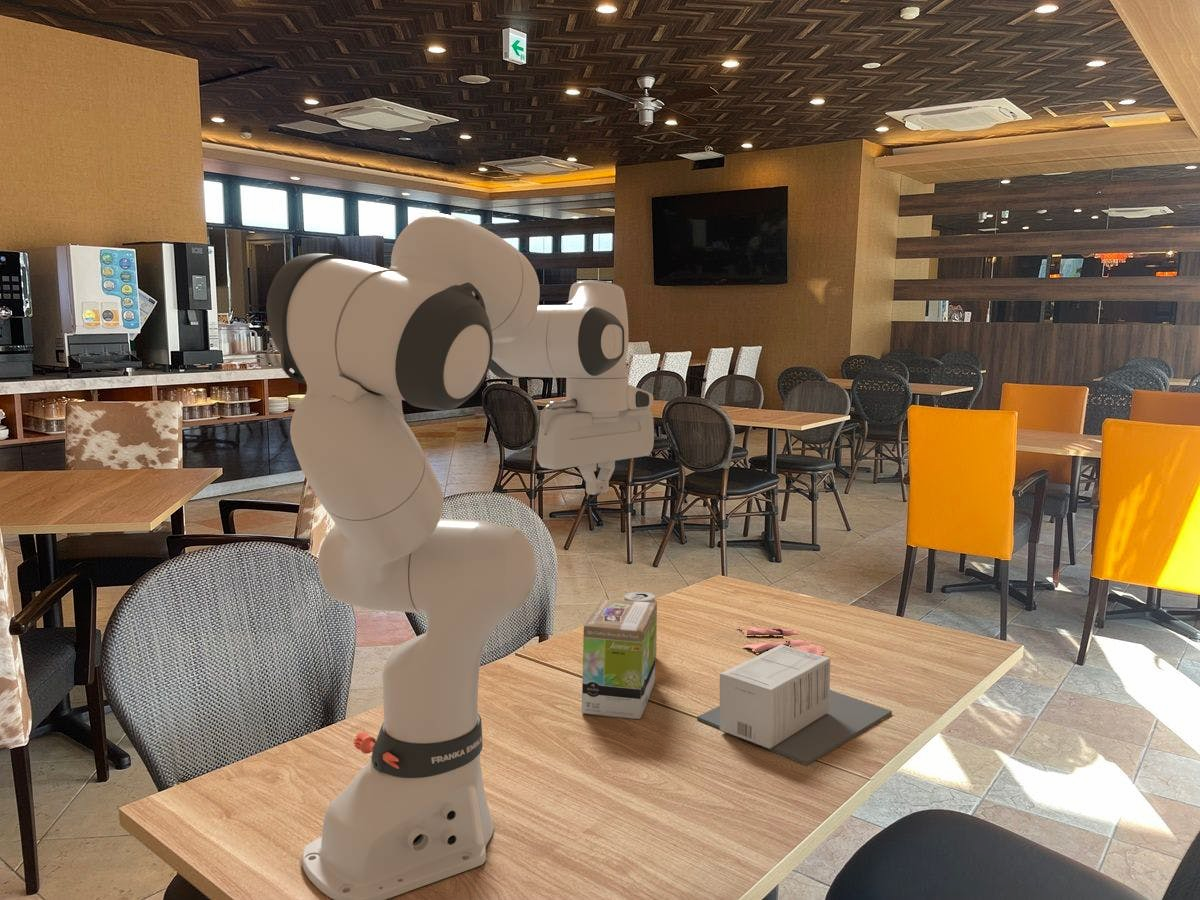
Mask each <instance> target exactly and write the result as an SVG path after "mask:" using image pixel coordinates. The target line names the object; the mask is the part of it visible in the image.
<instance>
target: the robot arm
mask: <svg viewBox="0 0 1200 900" xmlns="http://www.w3.org/2000/svg"><path fill="white" fill-rule="evenodd" d="M540 289H541V288H540V282H539V278H538V275H537V272H536V271H535V267H533V265H532V263H531V262H530V260H528V258H527V257H526V255H524V254H523V253H522V252H521V251H520V250H518V249H517V248H516V247H514V246H513V245H512V244H510V243H509V242H508V241H506V240H505V239H503V238H502V237H500V236H499V235H498V234H495V233H494V232H493V231H490V230H488V229H487V228H485V227H484V226H483V227H482V226H481V225H479V224H476V223H474V222H472V221H469V220H466V219H464V218H461V217H457V216H454V215H450V214H445V213H431V214H426V215H423V216H420V217H418V218H416V219H415V220H413V221H412V222H410V223H409V224H408V225H407V226H405V228H403V229H402V230H401V232H400V233H399V235H398V236H397V238H396V240H395V242H394V245H393V247H392V251H391V257H390V266H389V268H387V267H383V266H382V267H381V266H379V265H374V264H370V263H366V262H362V261H355V260H349V259H348V258H346V257H344V256H342V255H338V254H333V253H331V254H330V253H306V254H301V255H298V256H295V257H293V258H291V259H289V260H288V261H286V263H285V264H284V265H283V266H281V268H280V269H279V270H278V271H277V273H276V274H275V276H274V278H273V280H272V282H271V284H270V287H269V291H268V294H267V298H266V299H267V300H266V317H267V325H268V329H269V334H270V336H271V339H272V341H273V343H274V345H275V347H276V348H277V350H278V352H279V354H280V366H281V369H282V371H283V372H284V374H286V375H287V377H289V378H290V379H292V380H293V381H294V382H297V383H300V384H303V385H304V384H305V385H306V392H305V394H304V397H303V398H302V399H301V401H300V402H299V403H298V405H297V406H296V408H295V409H294V413H293V414H292V417H291V420H290V429H289V435H290V441H291V444H292V447H293V449H294V453H295V457H296V459H297V461H298V463H299V466H300V468H301V470H302V472H303V475H304V477H305V479H306V482H307V483H308V485H309V486H310V488H311V490H312V491H313V493H314V494H315V496H316V497H317V500H318V501H319V502H320V504H321V505H322V507H323V508H324V509H325V511H326V512H327V513H328V515H329V516H330V518H331V519H332V520H333V522H334V524H335V525H334V526H333V527H332V528H331V529H330V530H329V532H328V533H327V534H326V535H325V537H324V539H323V541H322V544H321V545H320V548H319V551H318V558H317V570H318V571H317V572H318V576H319V580H320V583H321V584H322V585H321V586H322V587H323V588H324V590H325V592H326V593H327V595H328V596H329V597H330V598H331V599H332V600H335V601H338V602H341V603H344V604H347V605H351V606H354V607H358V608H362V609H366V610H370V611H371V610H372V611H383V612H384V611H385V612H400V613H414V614H424V615H425V616H426V621H427V622H426V623H427V628H426V632H424V633H422V634H420V635H417V636H415V637H413V638H411V639H408V640H406V641H405V642H403V643H402V644H400V645H398V646H397V647H396V648H395V649H394V650H392V652H391V653H390V654H389V656H388V657H387V659H386V661H385V663H384V666H383V668H382V673H381V674H382V697H383V698H382V699H383V702H382V703H383V723H382V724H381V726H380V730H379V732H378V736H377V737H376V738H374V736H370V735H369V733H367V732H365V731H362V732H359V733H357V734H356V736H355V738H354V739H353V741H354V742H353V747H355V749H357V750H359V751H360V752H361V753H362V754H365V755H366V754H367V755H368V754H370V753H372V754H371V759H370V760H369V761H368V762H367V764H366V765H365V766H364V767H363V768H362V769H361V770H359V772H358V773H357V774H356V775H355V777H354V778H353V779H351V780H350V781H349V783H348V784H347V785H346V786H345V787H344V788H343V789H342V790H341V791H340V792H339V794H337V795H336V796H335V797H334V798H333V799H332V801H330V802H329V804H328V806H327V808H326V811H325V814H324V818H323V823H322V830H321V831H322V832H321V836H320V837H318V838H316V839H314V840H313V841H311V842H309V843H308V844H306V845H305V846H304V847H303V850H302V857H301V858H302V859H301V861H302V862H301V863H302V869H303V872H304V873H305V876H306V877H307V878H308V879H309V880H310V882H311V883H312V884H313V885H314V886H315V887H316V888H317V889H318V890H320V892H321V893H323V894H324V895H326V896H327V897H329V898H330V899H332V900H387V899H391V898H393V897H396V896H399V895H402V894H404V893H407V892H410V891H413V890H417V889H419V888H421V887H424V886H426V885H429V884H430V885H431V884H433V883H435V882H439V881H441V880H444V879H446V878H449V877H453V876H455V875H458V874H460V873H463V872H466V871H469V870H472V869H474V868H477V867H480V866H482V865H484V863H485V862H486V860H487V850H486V847H487V845H488V843H489V841H490V840H491V838H492V836H493V833H494V828H495V826H494V825H495V824H494V820H493V817H492V815H491V812H490V809H489V805H488V801H487V795H486V791H485V786H484V781H483V773H482V766H481V765H482V764H481V752H482V750H483V745H484V744H483V725H482V717H481V715H480V714H479V706H478V705H479V679H480V678H479V675H480V665H481V659H482V656H483V651H484V649H485V646H486V644H487V642H488V641H489V639H490V636H491V635H492V634H493V633H494V631H495V629H496V628H497V627H498V626H499V625H500V624H501V623H502V622H503V621H504V620H505V619H506V618H507V617H509V616H510V615H512V614H513V613H515V612H517V610H518V609H520V608H521V607H522V606H523V605H524V604H525V602H526V601H527V600H528V598H529V597H530V595H531V593H532V592H533V589H534V587H535V583H536V580H537V572H538V564H537V557H536V553H535V551H534V550H535V549H534V548H533V545H532V544H531V541H530V540H529V539H528V537H527V536H526V535H525V533H523V532H524V531H523V532H522V530H520V529H518V528H514V527H510V526H507V525H503V524H499V523H495V522H490V521H487V520H478V519H477V520H475V519H454V518H442V516H443V511H444V493H443V488H442V486H441V484H440V482H439V480H438V478H437V475H436V473H435V472H434V470H433V468H432V466H431V464H430V462H429V460H428V458H427V457H426V454H425V452H424V450H423V449H422V447H421V445H420V443H419V441H418V439H417V437H416V436H415V434H414V432H413V431H412V429H411V428H410V426H409V425H408V423H407V422H406V421H405V416H404V412H403V403H402V401H405V402H406V403H408V404H410V405H411V406H413V407H416V408H423V409H427V410H428V409H429V410H435V411H438V410H439V411H446V410H447V411H448V410H450V411H451V410H453V409H456V408H458V407H460V406H461V405H462V404H464V403H465V402H466V401H468V400H469V399H470V398H472V397H473V396H474V395H475V394H476V393H477V391H478V390H479V389H480V387H481V386H482V384H483V383H484V381H485V378H486V377H487V374H488V372H489V371H490V372H491V373H493V375H494V376H496V377H498V378H501V379H516V378H526V377H528V378H554V379H555V378H558V379H559V378H561V379H562V378H564V379H565V378H566V380H565V381H566V382H565V385H566V386H565V393H566V394H565V395H566V398H565V399H564V400H559V401H558V400H553V401H549V402H548V403H547V405H545V406H544V407H543V409H542V410H541V411H540V421H539V422H540V424H539V427H538V435H537V443H536V444H537V446H536V460H537V463H538V464H539V466H540V467H541V468H544V469H548V470H562V469H563V470H564V469H567V468H569V469H570V468H575V467H576V468H577V467H579V469H578V470H579V472H580V474H581V476H582V478H583V480H584V482H585V492H586V493H587V495H593V496H594V495H600V494H605V493H608V492H609V489H610V487H609V486H610V484H609V483H610V480H611V478H612V475H613V474H614V471H615V469H616V466H615V465H616V461H622V460H628V459H629V460H630V459H635V458H641V457H648V456H650V455H651V452H652V451H653V448H654V443H655V428H654V427H655V425H654V423H655V422H654V416H653V412H652V410H651V409H650V408H652V407H653V406H654V395H653V393H651V392H649V391H647V390H644V389H641V388H639V387H636V386H633V385H632V384H629V372H628V369H627V368H628V367H627V362H626V358H627V352H628V349H629V319H628V309H627V301H626V296H625V292H624V289H623V288H622V287H621V286H619V284H616V283H614V282H612V281H611V282H610V281H603V280H598V279H596V280H595V279H594V280H593V279H588V280H580V281H577V282H573V284H571V286H570V289H569V295H568V302H565V304H539V303H540V297H541V296H540V294H541V293H540ZM291 369H292V371H293V372H292V371H290V370H291ZM597 467H598V468H600V470H599V472H598V475H597V477H596V475H595V473H594V472H596V471H597Z"/></svg>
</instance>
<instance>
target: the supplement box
mask: <svg viewBox="0 0 1200 900" xmlns="http://www.w3.org/2000/svg"><path fill="white" fill-rule="evenodd" d="M830 683H831V657H827V656H820V655H816V654H812V653H808V652H805V651H801V650H798V649H795V648H792V647H788V646H785V645H782V644H781V645H779V646H777V647H775V648H773V649H771V650H768V651H764V652H761V654H760V653H759V655H758V654H757V656H756V655H755V656H754V657H752V658H751V659H748V660H746V661H743V662H742V663H740V664H739V663H738V664H737V665H736V666H733V667H731V668H729V669H727V670H725V671H723V672H721V673H719V706H720V729H719V730H720V731H722V732H723V733H727V734H730V735H732V736H734V737H738V738H740V739H742V738H743V739H742V740H745V741H747V740H748V742H749V741H750V742H749V743H752V742H753V743H752V744H754V743H756V744H755V745H757V744H758V745H757V746H759V745H761V746H764V747H766V748H769V749H771V748H772V747H774V746H775V745H777V744H779V743H780V742H782V741H783V740H785V739H787V738H788V737H790V736H791V735H793V734H794V733H796V732H798V731H799V730H801V729H802V728H804V727H806V726H807V725H809V724H810V723H812V722H814V721H815V720H817V719H818V718H820V717H822V716H823V715H825V714H827V713H828V712H829V694H830V690H831V687H830V686H831V684H830ZM761 746H760V747H761ZM764 747H763V748H764ZM766 748H765V749H766Z"/></svg>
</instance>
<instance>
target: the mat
mask: <svg viewBox="0 0 1200 900" xmlns="http://www.w3.org/2000/svg"><path fill="white" fill-rule="evenodd" d="M892 714H893V711H892V710H891V709H888V708H886V707H882V706H879V705H876V704H873V703H870V702H867V701H864V700H861V699H858V698H856V697H852V696H849V695H847V694H844V693H840V692H837V691H834V690H831V689H830V694H829V712H828V713H827V714H825V715H823V716H822V717H820V718H818V719H817V720H815V721H814V722H812V723H810V724H809V725H807V726H806V727H804V728H802V729H801V730H799V731H798V732H796V733H794V734H793V735H791V736H790V737H788V738H787V739H785V740H783V741H782V742H780V743H779V744H777V745H775V746H774V747H772V748H771V749H769V748H766V747H764V746H761V745H758V744H756V743H753V742H750V741H748V740H746V741H748V742H749V743H752V744H755V745H757V746H759V747H762V748H764V749H767V750H768V751H771V752H773V753H776V754H777V755H780V756H783V757H786V758H787V759H790V760H792V761H794V762H795V761H796V762H798V763H799V764H802V765H804V766H809V765H810V764H812V763H813V762H815V761H816V760H819V759H820V758H821V757H823V756H825V755H826V754H828V753H830V752H831V751H833V750H835V749H837V748H838V747H840V746H842V745H843V744H845V743H846V742H847V741H848V742H849V740H851V739H853V738H854V737H856V736H858V735H859V734H861V733H863V732H865V731H866V730H868V729H869V728H872V726H874V725H876V724H878V723H879V722H881V721H882V720H884V719H886V718H887V717H889V716H891V715H892ZM696 720H697V721H699V722H702V723H704V724H707V725H709V726H712V727H714V728H717V729H719V730H720V705H719V706H717V707H715V708H713V709H710V710H708V711H705V712H704V713H702V714H700V715H698V716H697V717H696ZM741 739H742V740H744V739H743V738H741Z"/></svg>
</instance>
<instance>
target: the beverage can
mask: <svg viewBox="0 0 1200 900" xmlns="http://www.w3.org/2000/svg"><path fill="white" fill-rule="evenodd" d="M655 598H656V595H655V594H654V593H651V592H649V591H630V592H627V593H625V594H624V596H623V601H636V602H649V603H656V604H657V605H658V602H657V600H656V599H655ZM657 622H658V621H657ZM657 622H656V651H657V650H658V649H657V648H658V647H657V637H658V636H657V635H658V632H657V631H658V629H657V628H658V627H657V625H658V623H657Z"/></svg>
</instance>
